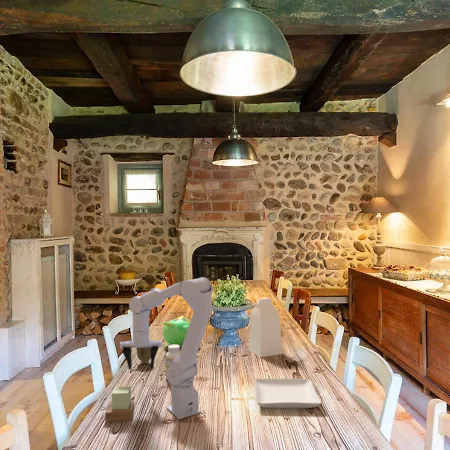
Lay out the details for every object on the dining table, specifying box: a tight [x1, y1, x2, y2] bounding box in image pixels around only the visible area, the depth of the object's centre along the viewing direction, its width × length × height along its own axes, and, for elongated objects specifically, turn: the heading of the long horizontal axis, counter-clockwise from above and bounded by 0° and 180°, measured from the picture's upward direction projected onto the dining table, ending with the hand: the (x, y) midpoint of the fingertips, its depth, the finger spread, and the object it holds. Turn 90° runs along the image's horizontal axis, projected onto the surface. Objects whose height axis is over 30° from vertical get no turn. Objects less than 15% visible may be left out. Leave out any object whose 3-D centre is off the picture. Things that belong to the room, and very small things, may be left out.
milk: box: [248, 297, 283, 358], centre depth 186 cm, size 12×12×26 cm
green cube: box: [111, 386, 132, 409], centre depth 123 cm, size 5×5×5 cm
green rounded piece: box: [161, 315, 191, 348], centre depth 196 cm, size 18×17×15 cm
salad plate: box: [254, 378, 322, 409], centre depth 135 cm, size 21×21×3 cm
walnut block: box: [104, 399, 135, 424], centre depth 123 cm, size 8×8×4 cm
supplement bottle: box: [165, 344, 181, 381], centre depth 153 cm, size 7×7×13 cm
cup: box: [135, 347, 152, 365], centre depth 171 cm, size 8×7×8 cm
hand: (141, 368), depth 136 cm, fingers open, 7 cm apart
